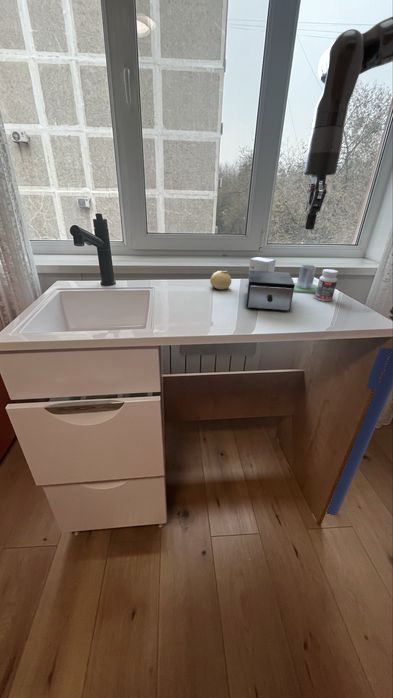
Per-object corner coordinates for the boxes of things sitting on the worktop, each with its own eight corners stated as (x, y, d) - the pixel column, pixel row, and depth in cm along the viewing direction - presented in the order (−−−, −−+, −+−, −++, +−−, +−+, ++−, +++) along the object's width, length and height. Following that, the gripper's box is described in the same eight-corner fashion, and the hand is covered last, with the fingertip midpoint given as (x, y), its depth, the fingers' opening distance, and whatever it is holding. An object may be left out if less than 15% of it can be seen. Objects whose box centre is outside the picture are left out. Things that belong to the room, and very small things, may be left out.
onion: (213, 291, 105) (214, 272, 102) (207, 285, 112) (208, 267, 109) (233, 290, 107) (235, 271, 104) (226, 284, 114) (228, 266, 110)
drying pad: (314, 286, 115) (315, 284, 114) (319, 293, 106) (320, 292, 106) (289, 284, 116) (289, 282, 116) (292, 291, 108) (292, 290, 107)
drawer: (289, 311, 87) (293, 290, 84) (248, 308, 89) (250, 287, 85) (284, 296, 100) (288, 277, 96) (248, 294, 101) (250, 274, 98)
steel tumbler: (310, 285, 113) (314, 264, 109) (312, 289, 108) (317, 268, 104) (295, 284, 114) (299, 264, 110) (297, 288, 109) (301, 267, 105)
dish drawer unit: (289, 311, 90) (294, 284, 85) (246, 308, 92) (248, 281, 87) (285, 296, 102) (289, 272, 98) (246, 293, 104) (249, 270, 100)
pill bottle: (320, 302, 98) (327, 273, 93) (311, 296, 103) (317, 268, 98) (335, 301, 99) (343, 272, 94) (325, 295, 104) (332, 268, 99)
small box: (272, 287, 112) (276, 259, 107) (264, 290, 108) (268, 261, 103) (255, 283, 117) (258, 256, 112) (247, 285, 113) (250, 258, 108)
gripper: (347, 148, 63) (329, 232, 72) (333, 155, 75) (318, 226, 83) (312, 148, 64) (298, 231, 73) (303, 155, 76) (291, 226, 84)
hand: (309, 228), depth 78 cm, fingers closed
